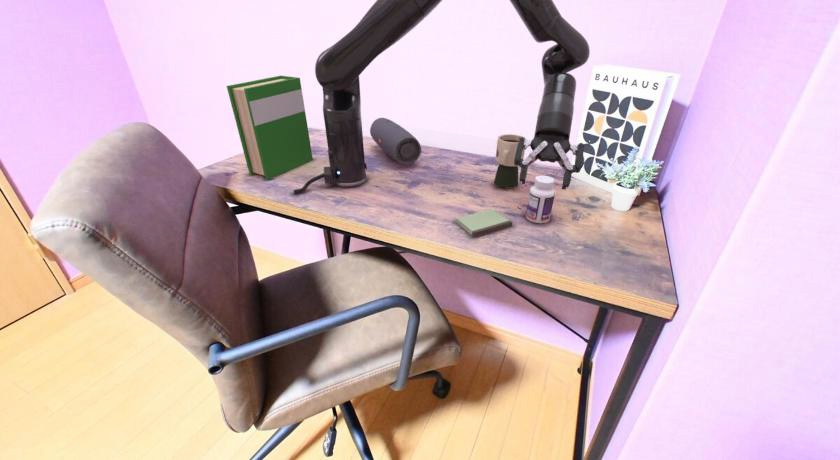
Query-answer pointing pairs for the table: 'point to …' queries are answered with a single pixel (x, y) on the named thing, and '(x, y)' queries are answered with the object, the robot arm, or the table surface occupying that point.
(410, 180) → the table surface
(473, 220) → the notebook
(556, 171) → the table surface
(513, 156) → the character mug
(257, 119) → the hardback book
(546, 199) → the pill bottle
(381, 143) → the bluetooth speaker
